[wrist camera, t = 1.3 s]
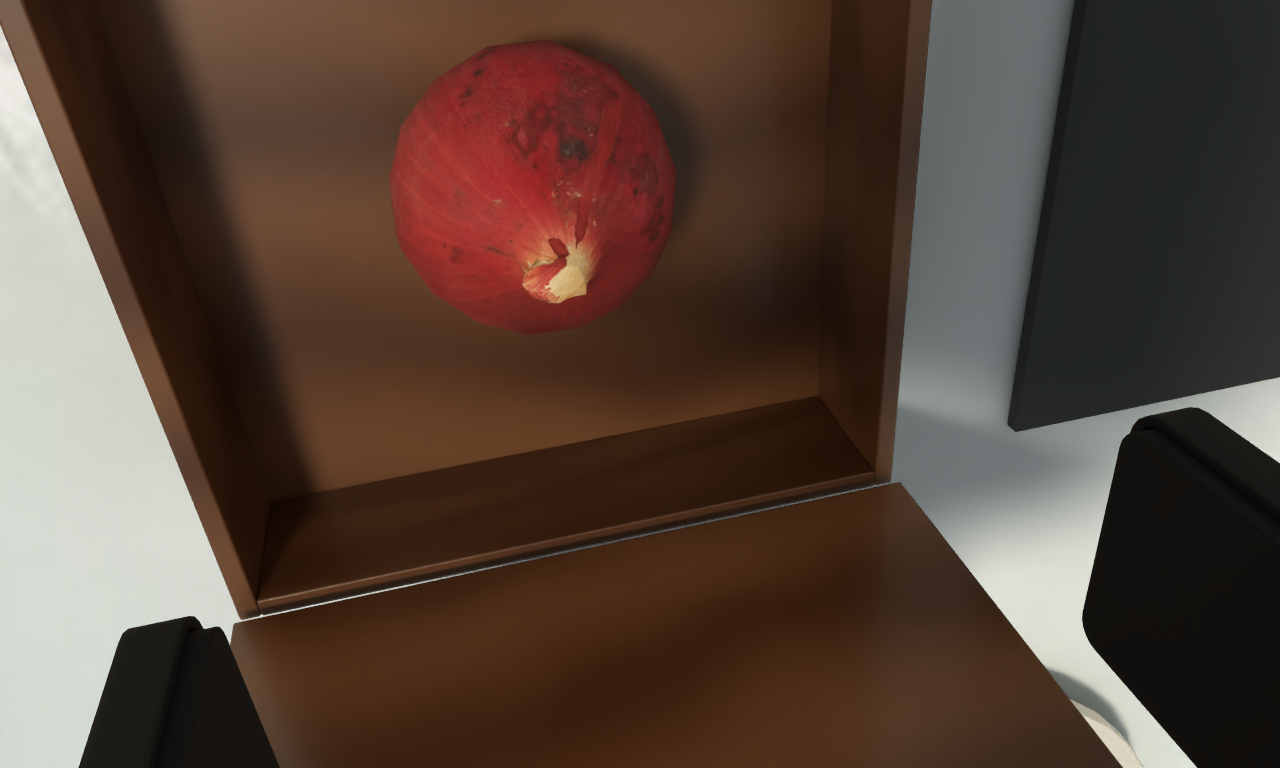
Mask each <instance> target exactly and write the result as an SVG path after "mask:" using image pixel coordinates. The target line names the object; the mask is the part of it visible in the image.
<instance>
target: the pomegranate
mask: <svg viewBox="0 0 1280 768" xmlns="http://www.w3.org/2000/svg"><path fill="white" fill-rule="evenodd" d="M675 184H676V170H675V167H674V164H673V161H672V158H671V155H670V153H669V150H668V147H667V144H666V141H665V138H664V136H663V133H662V130H661V127H660V124H659V122H658V119H657V117H656V115H655V112H654V110H653V108H652V107H651V106H650V105H649V104H648V103H647V102H646V101H645V100H644V99H643V98H642V96H641V95H640V94H639V93H638V92H637V91H636V90H635V89H634V88H633V87H632V85H631V84H630V83H629V82H628V81H627V80H626V79H625V78H624V77H623V76H622V75H621V73H620V72H619V71H618V70H617V69H616V68H615V67H614V66H613V65H611V64H609V63H606V62H604V61H601V60H598V59H596V58H593V57H590V56H588V55H585V54H582V53H580V52H577V51H575V50H572V49H569V48H567V47H564V46H561V45H559V44H556V43H554V42H551V41H548V40H540V41H531V42H521V43H512V44H503V45H493V46H487V47H485V48H484V49H482V50H480V51H479V52H477V53H476V54H474V55H473V56H471V57H469V58H468V59H466V60H465V61H463V62H461V63H460V64H458V65H457V66H455V67H453V68H452V69H450V70H449V71H447V72H446V73H444V74H442V75H441V76H439V77H438V78H436V79H435V80H434V81H433V82H432V84H431V85H430V87H429V88H428V89H427V91H426V92H425V93H424V95H423V96H422V98H421V99H420V100H419V102H418V103H417V105H416V106H415V107H414V109H413V110H412V111H411V113H410V114H409V116H408V117H407V118H406V120H405V121H404V122H403V124H402V125H401V128H400V132H399V137H398V141H397V145H396V150H395V154H394V159H393V163H392V168H391V172H390V176H389V188H390V195H391V202H392V208H393V215H394V222H395V229H396V236H397V239H398V242H399V245H400V248H401V250H402V251H403V253H404V254H405V256H406V257H407V258H408V260H409V261H410V263H411V264H412V265H413V267H414V268H415V270H416V271H417V272H418V274H419V275H420V277H421V278H422V280H423V281H424V282H425V284H426V285H427V287H428V288H429V289H430V291H431V292H432V293H433V294H434V295H436V296H438V297H439V298H441V299H442V300H444V301H445V302H447V303H448V304H450V305H452V306H453V307H455V308H456V309H458V310H459V311H461V312H462V313H464V314H465V315H467V316H469V317H470V318H472V319H473V320H475V321H477V322H479V323H481V324H484V325H489V326H493V327H497V328H501V329H505V330H510V331H514V332H518V333H522V334H526V335H531V334H539V333H547V332H555V331H563V330H571V329H577V328H579V327H581V326H583V325H585V324H587V323H589V322H591V321H593V320H595V319H597V318H600V317H602V316H604V315H606V314H608V313H611V312H613V311H615V310H617V309H619V308H620V307H621V306H622V305H623V304H624V303H625V302H626V301H627V300H628V299H629V298H630V297H631V296H632V295H633V293H634V292H635V291H636V290H637V289H638V288H639V287H640V286H641V285H642V284H643V283H644V282H645V281H646V280H647V279H648V278H649V277H650V276H651V275H652V274H653V273H654V271H655V269H656V266H657V264H658V262H659V259H660V257H661V255H662V252H663V250H664V248H665V245H666V243H667V241H668V238H669V236H670V234H671V232H672V223H673V210H674V197H675Z"/></svg>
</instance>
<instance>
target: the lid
mask: <svg viewBox="0 0 1280 768" xmlns="http://www.w3.org/2000/svg"><path fill="white" fill-rule="evenodd" d="M230 647H231V650H232V652H233V655H234V657H235V659H236V662H237V664H238V667H239V669H240V672H241V674H242V677H243V679H244V681H245V684H246V686H247V689H248V691H249V694H250V696H251V698H252V701H253V703H254V706H255V708H256V711H257V713H258V715H259V718H260V720H261V723H262V725H263V728H264V730H265V732H266V735H267V737H268V740H269V742H270V745H271V747H272V749H273V752H274V754H275V757H276V759H277V762H278V764H279V766H280V768H1123V767H1122V765H1121V764H1120V763H1119V762H1118V760H1117V759H1116V758H1115V756H1114V755H1113V754H1112V753H1111V751H1110V750H1109V749H1108V747H1107V746H1106V745H1105V744H1104V742H1103V741H1102V740H1101V738H1100V737H1099V736H1098V735H1097V733H1096V732H1095V731H1094V729H1093V728H1092V727H1091V726H1090V724H1089V723H1088V722H1087V721H1086V719H1085V718H1084V717H1083V715H1082V714H1081V713H1080V712H1079V710H1078V709H1077V708H1076V706H1075V705H1074V704H1073V703H1072V701H1071V700H1070V699H1069V697H1068V696H1067V695H1066V694H1065V692H1064V691H1063V690H1062V688H1061V687H1060V686H1059V685H1058V683H1057V682H1056V681H1055V680H1054V678H1053V677H1052V676H1051V674H1050V673H1049V672H1048V671H1047V669H1046V668H1045V667H1044V665H1043V664H1042V663H1041V662H1040V660H1039V659H1038V658H1037V656H1036V655H1035V654H1034V653H1033V651H1032V650H1031V649H1030V648H1029V646H1028V645H1027V644H1026V642H1025V641H1024V640H1023V639H1022V637H1021V636H1020V635H1019V633H1018V632H1017V631H1016V630H1015V628H1014V627H1013V626H1012V624H1011V623H1010V622H1009V621H1008V619H1007V618H1006V617H1005V615H1004V614H1003V613H1002V612H1001V610H1000V609H999V608H998V607H997V605H996V604H995V603H994V601H993V600H992V599H991V598H990V596H989V595H988V594H987V592H986V591H985V590H984V589H983V587H982V586H981V585H980V583H979V582H978V581H977V580H976V578H975V577H974V576H973V574H972V573H971V572H970V571H969V569H968V568H967V567H966V566H965V564H964V563H963V562H962V560H961V559H960V558H959V557H958V555H957V554H956V553H955V551H954V550H953V549H952V548H951V546H950V545H949V544H948V542H947V541H946V540H945V539H944V537H943V536H942V535H941V533H940V532H939V531H938V530H937V528H936V527H935V526H934V525H933V523H932V522H931V521H930V519H929V518H928V517H927V516H926V514H925V513H924V512H923V510H922V509H921V508H920V507H919V505H918V504H917V503H916V501H915V500H914V499H913V498H912V496H911V495H910V494H909V493H908V491H907V490H906V489H905V487H904V486H903V485H902V484H901V482H897V483H892V484H888V485H883V486H878V487H873V488H869V489H864V490H859V491H855V492H850V493H845V494H841V495H836V496H831V497H826V498H822V499H817V500H812V501H808V502H803V503H798V504H794V505H789V506H784V507H779V508H775V509H770V510H765V511H761V512H756V513H751V514H746V515H742V516H737V517H732V518H728V519H723V520H718V521H714V522H709V523H704V524H699V525H695V526H690V527H685V528H681V529H676V530H671V531H667V532H662V533H657V534H652V535H648V536H643V537H638V538H634V539H629V540H624V541H619V542H615V543H610V544H605V545H601V546H596V547H591V548H587V549H582V550H577V551H572V552H568V553H563V554H558V555H554V556H549V557H544V558H540V559H535V560H530V561H525V562H521V563H516V564H511V565H507V566H502V567H497V568H492V569H488V570H483V571H478V572H474V573H469V574H464V575H460V576H455V577H450V578H445V579H441V580H436V581H431V582H427V583H422V584H417V585H413V586H408V587H403V588H398V589H394V590H389V591H384V592H380V593H375V594H370V595H365V596H361V597H356V598H351V599H347V600H342V601H337V602H333V603H328V604H323V605H318V606H314V607H309V608H304V609H300V610H295V611H290V612H285V613H281V614H276V615H271V616H267V617H262V618H257V619H253V620H248V621H243V622H238V623H235V624H234V625H233V631H232V637H231V643H230Z"/></svg>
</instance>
